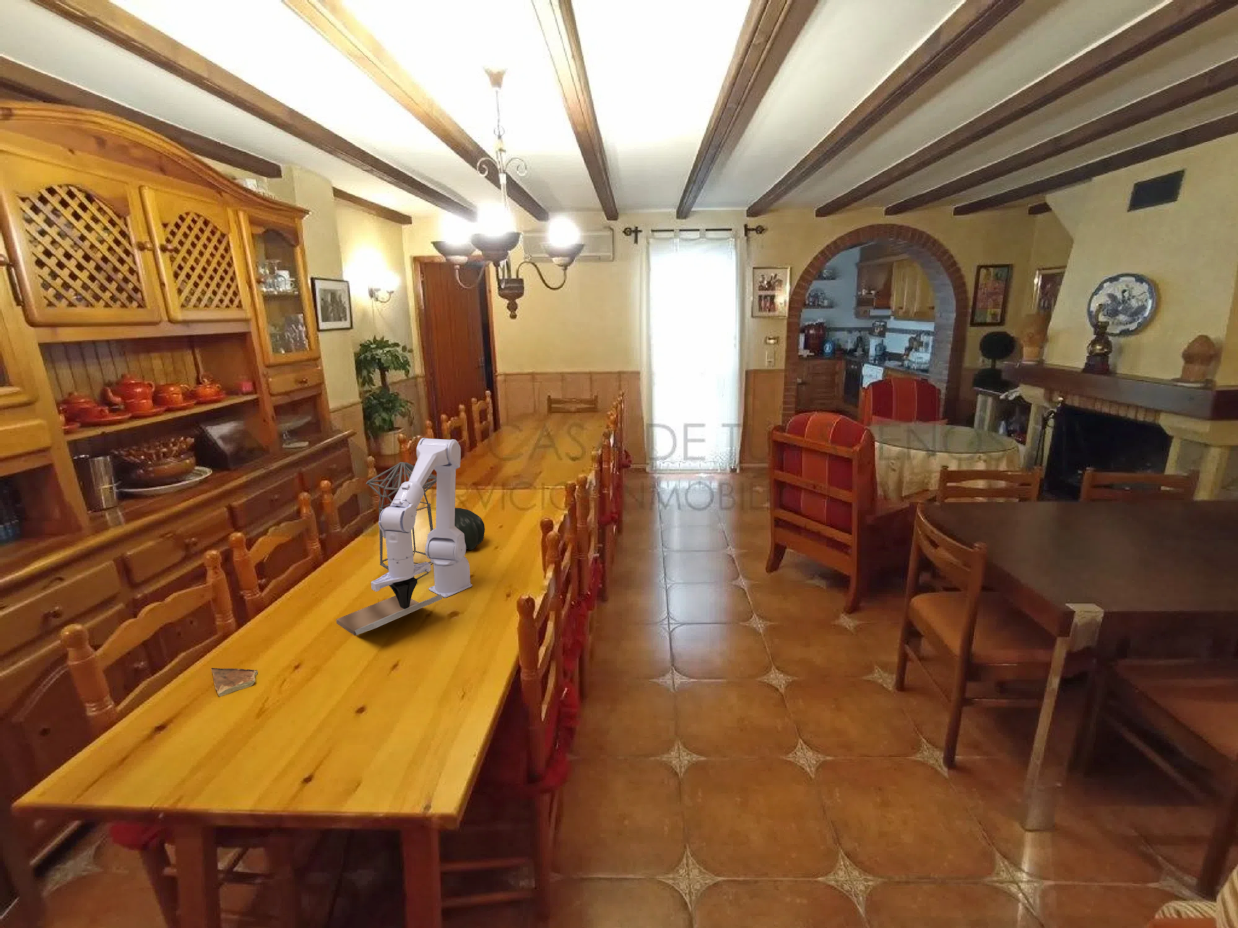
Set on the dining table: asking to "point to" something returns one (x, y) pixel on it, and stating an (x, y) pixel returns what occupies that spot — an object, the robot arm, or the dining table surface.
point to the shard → (232, 679)
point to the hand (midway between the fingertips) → (404, 606)
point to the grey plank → (398, 615)
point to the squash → (469, 527)
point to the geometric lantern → (395, 468)
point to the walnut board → (371, 614)
